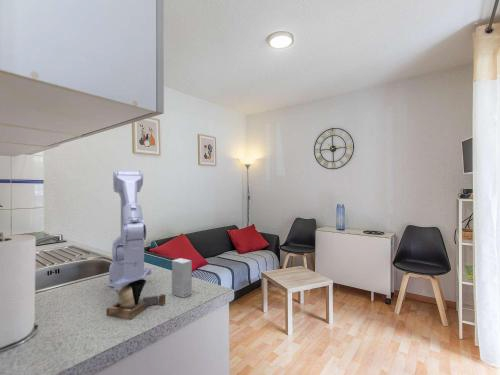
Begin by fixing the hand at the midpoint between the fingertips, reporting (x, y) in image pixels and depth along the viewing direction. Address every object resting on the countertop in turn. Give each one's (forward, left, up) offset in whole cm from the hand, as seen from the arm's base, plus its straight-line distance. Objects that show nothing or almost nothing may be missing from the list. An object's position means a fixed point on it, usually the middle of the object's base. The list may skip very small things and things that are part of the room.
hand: (133, 304), depth 83 cm
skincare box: (+9, +14, -1) cm, 16 cm away
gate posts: (0, +5, -1) cm, 5 cm away
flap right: (+4, +3, -1) cm, 5 cm away
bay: (0, -2, -1) cm, 2 cm away
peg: (0, -2, 0) cm, 3 cm away
